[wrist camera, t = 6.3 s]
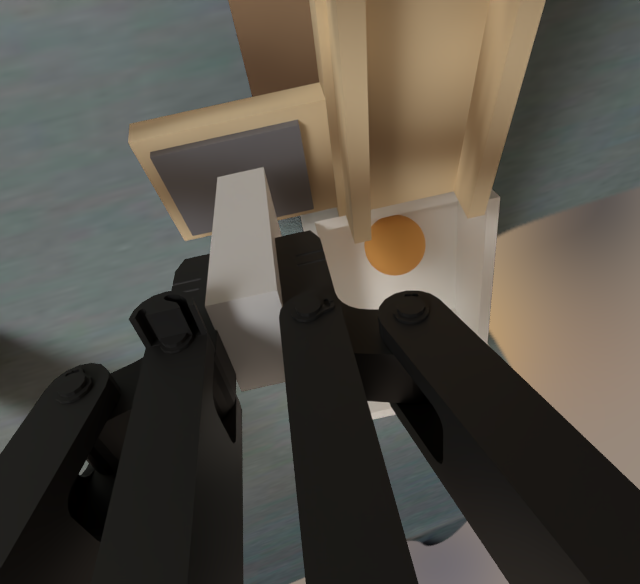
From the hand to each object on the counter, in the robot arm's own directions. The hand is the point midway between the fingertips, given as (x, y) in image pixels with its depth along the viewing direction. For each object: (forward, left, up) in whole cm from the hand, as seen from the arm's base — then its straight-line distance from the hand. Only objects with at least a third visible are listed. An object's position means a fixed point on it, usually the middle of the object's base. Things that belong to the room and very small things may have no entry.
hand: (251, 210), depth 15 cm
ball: (+2, +9, -6) cm, 11 cm away
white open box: (+4, +10, -8) cm, 14 cm away
